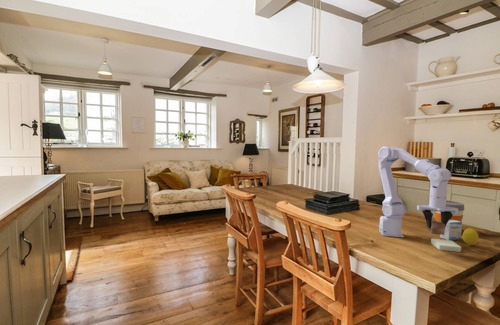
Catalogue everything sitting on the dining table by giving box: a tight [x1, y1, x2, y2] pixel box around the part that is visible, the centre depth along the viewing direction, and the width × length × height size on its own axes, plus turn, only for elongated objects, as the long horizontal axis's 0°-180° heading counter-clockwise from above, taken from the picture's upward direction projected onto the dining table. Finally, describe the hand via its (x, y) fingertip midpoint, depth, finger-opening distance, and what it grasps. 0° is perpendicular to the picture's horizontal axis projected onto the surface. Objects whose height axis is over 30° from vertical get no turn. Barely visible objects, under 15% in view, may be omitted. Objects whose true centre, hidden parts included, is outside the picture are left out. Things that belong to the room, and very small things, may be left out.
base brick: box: [430, 238, 462, 253], centre depth 113 cm, size 8×8×2 cm
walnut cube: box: [426, 220, 445, 236], centre depth 109 cm, size 4×4×4 cm
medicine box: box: [439, 220, 463, 241], centre depth 124 cm, size 8×4×9 cm, turn 105°
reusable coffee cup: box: [434, 200, 465, 223], centre depth 136 cm, size 12×13×15 cm
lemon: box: [461, 227, 480, 247], centre depth 115 cm, size 6×6×8 cm
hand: (435, 228), depth 109 cm, fingers closed on walnut cube, 4 cm apart
